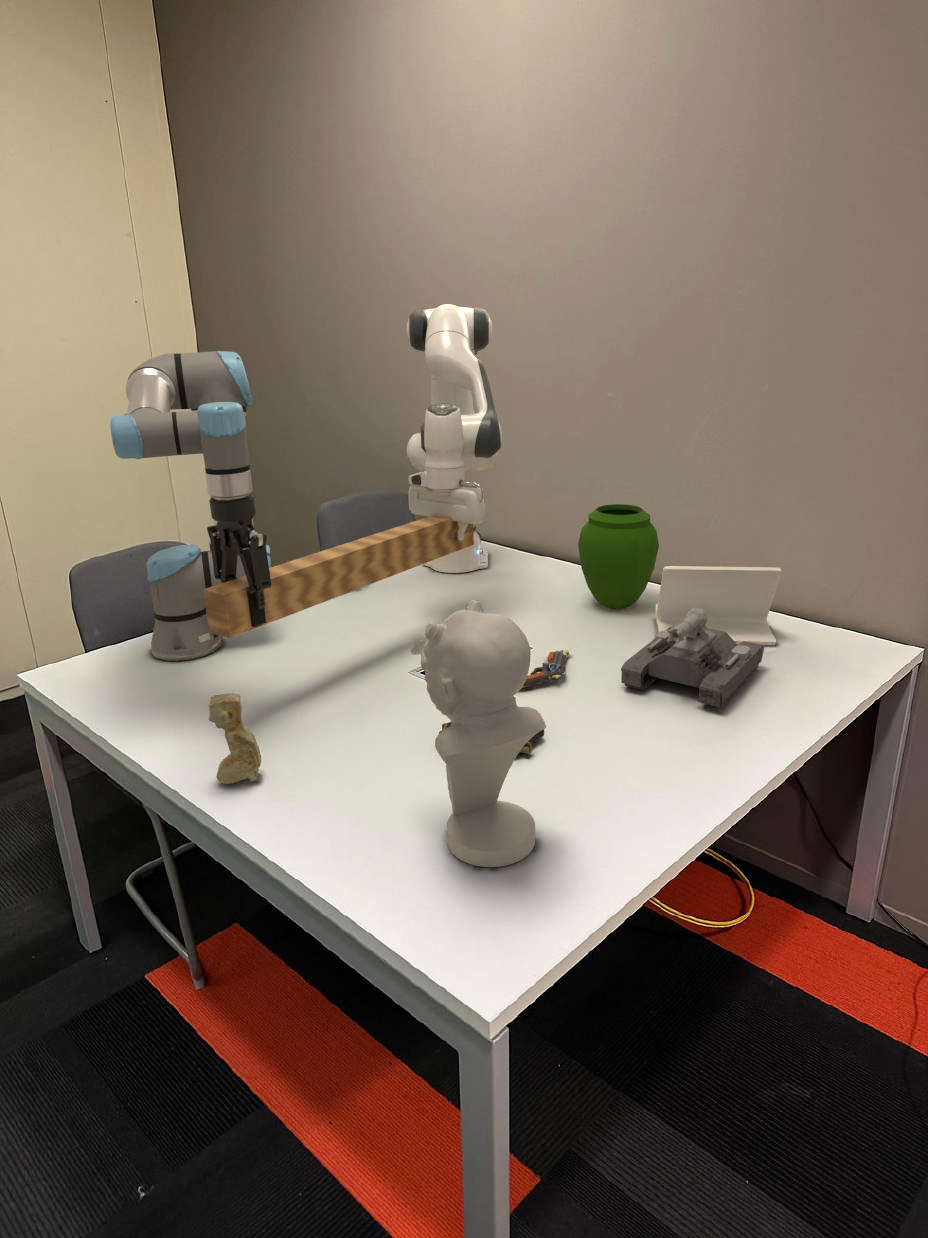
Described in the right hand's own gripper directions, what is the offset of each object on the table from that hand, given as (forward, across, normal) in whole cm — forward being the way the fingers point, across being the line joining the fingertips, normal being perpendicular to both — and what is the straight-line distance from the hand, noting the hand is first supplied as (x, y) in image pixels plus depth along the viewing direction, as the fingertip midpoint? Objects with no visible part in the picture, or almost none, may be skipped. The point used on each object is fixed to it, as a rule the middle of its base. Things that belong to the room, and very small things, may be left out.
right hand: (447, 537), depth 198 cm
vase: (+22, -27, -33) cm, 48 cm away
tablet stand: (+21, -53, -30) cm, 65 cm away
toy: (+21, -60, -3) cm, 64 cm away
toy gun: (+21, -34, +12) cm, 42 cm away
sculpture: (+21, -16, +75) cm, 80 cm away
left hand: (+2, 0, +59) cm, 59 cm away
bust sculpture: (+21, -56, +65) cm, 88 cm away
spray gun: (+21, -42, +41) cm, 63 cm away
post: (+3, 0, +29) cm, 30 cm away
